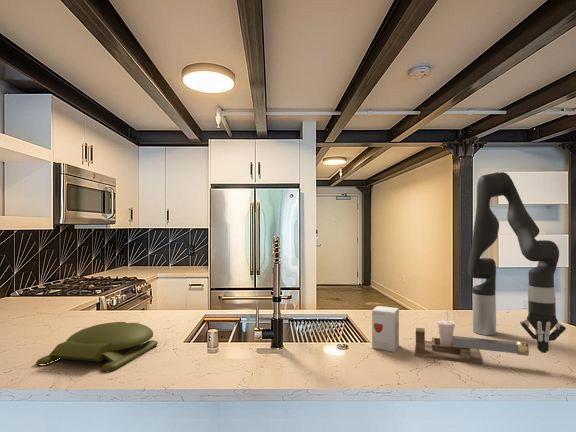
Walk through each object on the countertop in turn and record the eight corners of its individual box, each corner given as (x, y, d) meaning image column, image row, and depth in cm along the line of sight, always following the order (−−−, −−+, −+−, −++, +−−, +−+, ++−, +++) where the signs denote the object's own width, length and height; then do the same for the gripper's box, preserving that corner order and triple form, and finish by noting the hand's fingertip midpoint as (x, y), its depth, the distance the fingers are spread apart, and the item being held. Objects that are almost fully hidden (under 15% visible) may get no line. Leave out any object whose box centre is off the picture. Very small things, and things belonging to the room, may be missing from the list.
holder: (416, 342, 147) (415, 320, 147) (476, 348, 139) (475, 325, 139) (414, 355, 131) (414, 331, 132) (482, 364, 123) (481, 338, 123)
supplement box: (371, 348, 140) (371, 309, 140) (377, 342, 147) (376, 305, 148) (395, 352, 135) (394, 312, 136) (399, 345, 143) (399, 307, 144)
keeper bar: (452, 345, 131) (452, 333, 132) (525, 353, 123) (525, 340, 123) (453, 349, 127) (452, 336, 128) (529, 357, 119) (528, 344, 119)
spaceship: (111, 374, 116) (111, 344, 116) (32, 367, 122) (32, 338, 123) (168, 341, 150) (168, 317, 151) (103, 336, 156) (104, 314, 157)
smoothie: (457, 351, 133) (456, 313, 134) (439, 349, 135) (438, 312, 135) (453, 345, 140) (452, 309, 140) (435, 344, 141) (435, 308, 141)
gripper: (561, 299, 121) (563, 351, 120) (516, 296, 126) (517, 346, 125) (569, 303, 114) (571, 358, 113) (521, 300, 119) (522, 353, 118)
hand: (542, 352), depth 119 cm, fingers closed
